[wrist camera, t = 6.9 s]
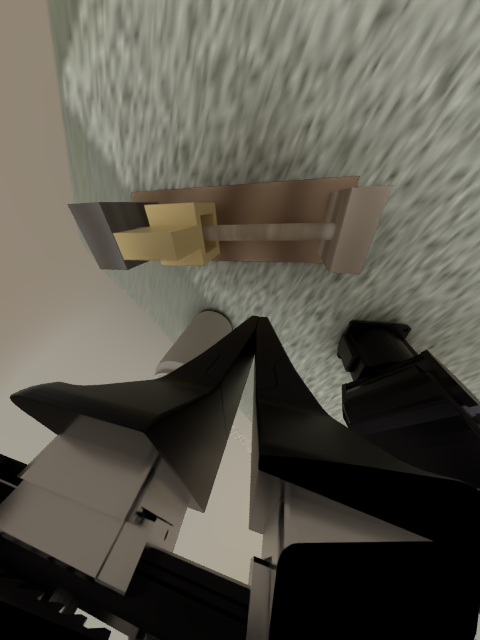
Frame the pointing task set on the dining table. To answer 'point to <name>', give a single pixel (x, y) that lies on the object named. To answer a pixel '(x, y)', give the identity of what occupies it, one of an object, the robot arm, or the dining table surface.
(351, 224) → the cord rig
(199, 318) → the beverage can
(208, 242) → the marker sleeve
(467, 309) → the dining table surface
